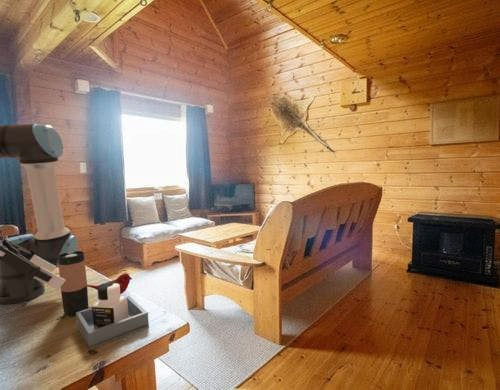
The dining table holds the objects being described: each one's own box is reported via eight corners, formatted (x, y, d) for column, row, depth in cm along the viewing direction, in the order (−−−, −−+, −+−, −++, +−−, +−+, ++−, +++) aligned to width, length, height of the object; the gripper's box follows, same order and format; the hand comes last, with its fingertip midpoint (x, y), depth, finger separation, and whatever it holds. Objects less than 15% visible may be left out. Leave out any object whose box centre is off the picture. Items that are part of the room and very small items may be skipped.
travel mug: (77, 318, 97) (71, 258, 95) (57, 316, 98) (51, 257, 96) (94, 307, 104) (89, 251, 102) (75, 305, 106) (70, 250, 104)
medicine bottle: (93, 328, 88) (89, 289, 87) (108, 316, 95) (105, 280, 94) (115, 330, 87) (111, 290, 86) (129, 317, 94) (126, 281, 93)
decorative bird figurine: (132, 301, 108) (130, 274, 107) (83, 302, 108) (81, 276, 107) (135, 297, 110) (133, 271, 109) (88, 299, 111) (85, 273, 110)
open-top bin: (77, 326, 92) (75, 312, 91) (130, 308, 102) (129, 296, 102) (90, 349, 80) (88, 333, 79) (148, 326, 90) (147, 312, 90)
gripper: (-39, 237, 77) (39, 276, 88) (-46, 259, 58) (54, 306, 70) (-14, 213, 79) (58, 255, 91) (-14, 228, 61) (77, 277, 72)
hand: (56, 277), depth 80 cm, fingers open, 13 cm apart
